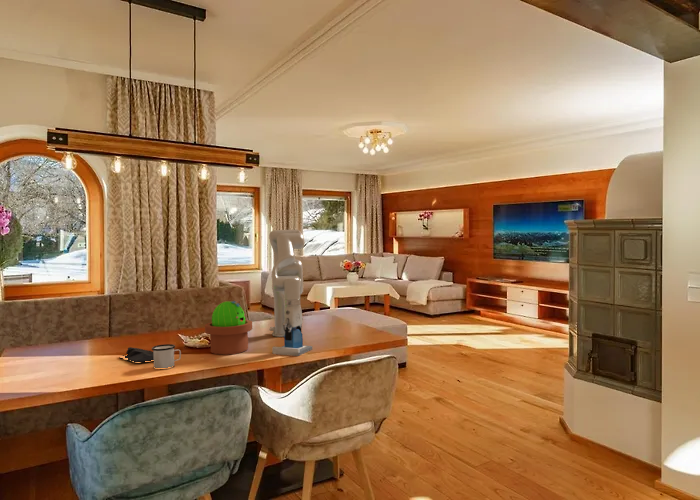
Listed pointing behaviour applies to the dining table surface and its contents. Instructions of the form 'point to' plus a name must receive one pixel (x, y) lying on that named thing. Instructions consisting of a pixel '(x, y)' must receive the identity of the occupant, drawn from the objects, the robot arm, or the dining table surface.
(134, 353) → the black folded cloth
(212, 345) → the potted cactus
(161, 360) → the mug
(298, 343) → the perfume bottle
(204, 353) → the dining table surface
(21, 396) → the dining table surface
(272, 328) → the robot arm
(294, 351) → the grey square slab
